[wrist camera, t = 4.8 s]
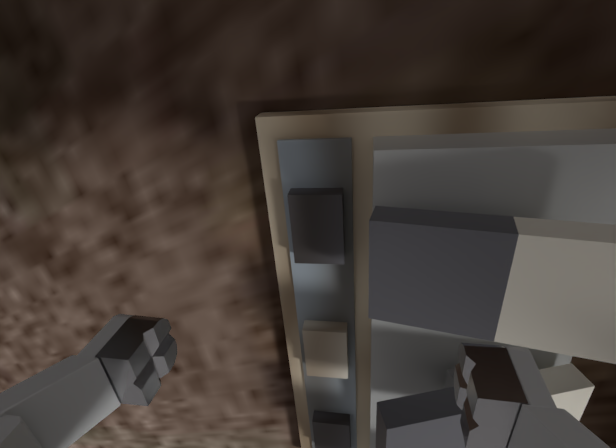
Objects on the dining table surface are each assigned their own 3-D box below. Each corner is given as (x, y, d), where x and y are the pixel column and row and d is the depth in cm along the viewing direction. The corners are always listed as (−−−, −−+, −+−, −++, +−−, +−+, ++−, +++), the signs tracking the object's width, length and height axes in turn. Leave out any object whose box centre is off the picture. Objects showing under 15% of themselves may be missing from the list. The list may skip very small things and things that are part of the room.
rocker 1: (669, 210, 11) (717, 253, 9) (622, 317, 13) (652, 371, 11) (381, 192, 14) (369, 220, 12) (379, 281, 16) (368, 318, 14)
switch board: (640, 94, 14) (680, 103, 12) (510, 473, 26) (520, 505, 24) (261, 112, 16) (247, 122, 14) (305, 449, 28) (301, 477, 26)
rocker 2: (549, 341, 17) (595, 386, 15) (529, 401, 19) (567, 448, 17) (367, 376, 16) (387, 429, 14) (366, 435, 18) (384, 489, 16)
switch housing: (617, 128, 13) (654, 142, 12) (502, 479, 25) (512, 513, 23) (373, 136, 15) (373, 150, 13) (369, 463, 26) (369, 494, 24)
